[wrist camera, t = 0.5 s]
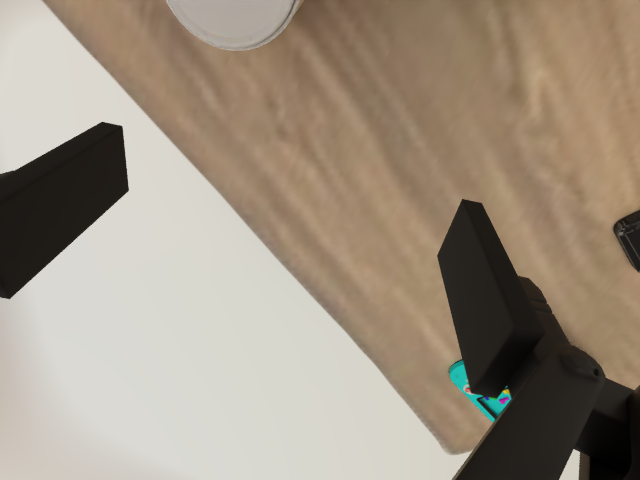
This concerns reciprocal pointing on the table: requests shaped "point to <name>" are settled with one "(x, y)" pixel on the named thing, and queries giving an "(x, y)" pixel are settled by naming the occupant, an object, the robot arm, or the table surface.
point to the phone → (630, 238)
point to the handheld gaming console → (485, 404)
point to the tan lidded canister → (235, 20)
